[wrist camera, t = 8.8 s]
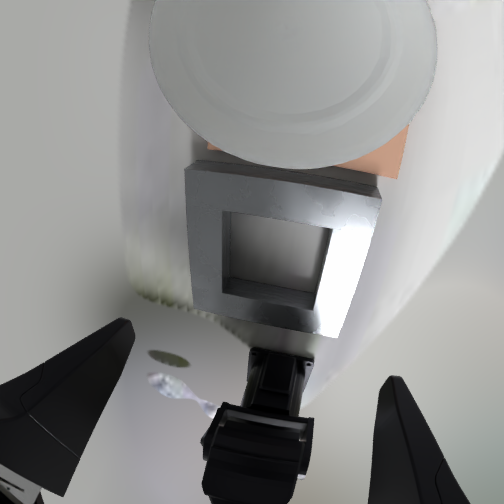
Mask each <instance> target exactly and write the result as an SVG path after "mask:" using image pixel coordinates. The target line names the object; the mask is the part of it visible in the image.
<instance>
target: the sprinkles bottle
mask: <svg viewBox="0 0 504 504" xmlns="http://www.w3.org/2000/svg"><path fill="white" fill-rule="evenodd" d="M149 51H150V58H151V64H152V67H153V70H154V73H155V76H156V78H157V81H158V84H159V86H160V88H161V90H162V92H163V94H164V96H165V98H166V99H167V101H168V102H169V104H170V105H171V106H172V108H173V109H174V110H175V112H176V113H177V114H178V116H179V117H180V118H181V119H182V120H183V121H184V122H185V123H186V124H187V125H188V126H189V127H190V128H191V129H192V130H193V131H195V132H196V133H197V134H198V135H199V136H201V137H202V138H203V139H205V140H207V141H208V142H209V143H211V144H212V145H214V146H216V147H218V148H220V149H221V150H223V151H224V152H227V153H229V154H232V155H234V156H237V157H239V158H241V159H244V160H247V161H250V162H253V163H256V164H261V165H266V166H272V167H278V168H287V169H314V168H322V167H328V166H333V165H337V164H342V163H345V162H348V161H351V160H354V159H357V158H360V157H362V156H364V155H366V154H368V153H370V152H372V151H374V150H376V149H377V148H379V147H381V146H383V145H384V144H386V143H387V142H388V141H390V140H391V139H392V138H393V137H395V136H396V135H397V134H398V133H399V132H400V131H402V130H403V129H404V128H405V127H406V126H407V125H408V124H409V123H410V122H411V121H412V120H413V118H414V116H415V115H416V113H417V112H418V111H419V109H420V108H421V106H422V105H423V103H424V101H425V100H426V97H427V95H428V93H429V91H430V88H431V85H432V82H433V79H434V75H435V71H436V63H437V34H436V27H435V23H434V19H433V17H432V14H431V10H430V7H429V5H428V3H427V1H426V0H156V1H155V4H154V7H153V10H152V15H151V19H150V27H149Z"/></svg>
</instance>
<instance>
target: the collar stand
mask: <svg viewBox="0 0 504 504" xmlns="http://www.w3.org/2000/svg"><path fill="white" fill-rule="evenodd" d="M185 194H186V214H187V231H188V246H189V259H190V271H191V283H192V294H193V304H194V309H198V310H202V311H206V312H210V313H215V314H219V315H223V316H228V317H232V318H237V319H241V320H246V321H251V322H255V323H260V324H265V325H270V326H275V327H280V328H285V329H291V330H296V331H302V332H307V333H313V334H319V335H325V336H331V337H337V336H338V334H339V331H340V329H341V326H342V324H343V321H344V318H345V316H346V313H347V310H348V308H349V305H350V302H351V299H352V296H353V294H354V291H355V288H356V285H357V282H358V279H359V276H360V273H361V270H362V267H363V264H364V261H365V258H366V254H367V251H368V248H369V245H370V241H371V238H372V235H373V231H374V228H375V224H376V221H377V217H378V213H379V209H380V206H381V202H382V198H381V195H380V193H379V190H378V188H377V187H374V186H369V185H364V184H359V183H355V182H349V181H344V180H339V179H334V178H328V177H323V176H317V175H311V174H305V173H299V172H292V171H286V170H279V169H272V168H264V167H257V166H249V165H240V164H232V163H222V162H212V161H202V160H196V161H195V162H194V163H192V164H191V165H190V166H188V167H187V168H186V169H185ZM231 212H237V213H243V214H250V215H256V216H262V217H268V218H274V219H280V220H286V221H292V222H298V223H304V224H309V225H315V226H321V227H326V228H330V231H329V236H328V241H327V245H326V249H325V254H324V258H323V262H322V267H321V271H320V275H319V279H318V283H317V287H316V291H315V293H310V292H305V291H299V290H294V289H288V288H283V287H278V286H272V285H267V284H262V283H257V282H252V281H247V280H242V279H237V278H232V277H230V224H231Z"/></svg>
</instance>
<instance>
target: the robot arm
mask: <svg viewBox="0 0 504 504" xmlns="http://www.w3.org/2000/svg"><path fill="white" fill-rule="evenodd" d="M134 341H135V332H134V329H133V326H132V323H131V321H130V320H128V319H125V318H122V317H121V318H118V319H116V320H114V321H112V322H111V323H109V324H108V325H106V326H104V327H102V328H101V329H99V330H97V331H96V332H94V333H92V334H91V335H89V336H87V337H85V338H84V339H82V340H80V341H79V342H77V343H75V344H74V345H72V346H70V347H69V348H67V349H66V350H64V351H62V352H60V353H59V354H57V355H55V356H54V357H52V358H50V359H49V360H47V361H45V363H42V364H40V365H39V366H37V367H35V368H34V369H32V370H30V371H28V372H26V373H25V374H22V375H20V376H18V377H16V378H14V379H12V380H10V381H8V382H6V383H4V384H1V385H0V504H44V502H43V499H42V495H41V492H40V490H41V488H44V489H46V490H48V491H50V492H52V493H54V494H57V495H59V496H61V497H64V495H65V492H66V490H67V488H68V485H69V483H70V481H71V479H72V476H73V474H74V472H75V469H76V467H77V465H78V463H79V461H80V458H81V455H82V454H83V451H84V449H85V447H86V445H87V442H88V441H89V438H90V436H91V434H92V432H93V430H94V428H95V426H96V424H97V422H98V420H99V418H100V416H101V414H102V411H103V410H104V407H105V406H106V404H107V402H108V399H109V398H110V396H111V394H112V392H113V390H114V388H115V386H116V384H117V382H118V380H119V378H120V376H121V374H122V371H123V369H124V366H125V364H126V361H127V359H128V356H129V354H130V351H131V349H132V346H133V344H134ZM313 366H314V360H313V359H310V358H304V357H298V356H293V355H288V354H282V353H277V352H272V351H267V350H262V349H258V348H251V349H250V352H249V361H248V373H247V382H248V383H247V386H246V389H245V392H244V396H243V399H242V402H241V405H240V406H236V405H231V404H229V403H227V402H223V403H222V405H221V407H220V408H218V409H217V412H216V415H215V417H214V419H213V421H212V423H211V425H210V427H209V428H208V430H207V431H206V433H205V434H204V436H203V437H202V438H201V442H200V443H201V444H202V446H203V460H205V461H207V464H206V468H205V472H204V476H203V480H202V488H203V491H204V494H205V495H208V496H209V498H210V501H211V503H212V504H287V503H288V502H289V501H290V499H291V498H292V496H293V492H294V489H295V484H296V481H297V479H300V480H303V479H304V477H305V475H306V472H307V469H308V466H309V461H310V456H311V448H312V439H313V428H314V418H311V417H309V418H304V417H298V416H299V411H300V405H301V399H302V393H303V391H304V389H305V386H306V384H307V382H308V379H309V376H310V374H311V371H312V369H313ZM299 439H300V441H299ZM372 453H373V454H372V467H371V478H370V489H369V498H368V504H470V502H469V501H468V499H467V497H466V496H465V494H464V492H463V491H462V489H461V488H460V486H459V484H458V482H457V481H456V479H455V477H454V475H453V473H452V472H451V469H450V467H449V465H448V463H447V461H446V459H445V458H444V456H443V453H442V451H441V449H440V447H439V445H438V443H437V441H436V439H435V437H434V435H433V434H432V432H431V430H430V428H429V426H428V424H427V422H426V420H425V419H424V416H423V415H422V413H421V411H420V409H419V407H418V406H417V403H416V402H415V400H414V398H413V396H412V394H411V393H410V391H409V389H408V387H407V385H406V384H405V382H404V380H403V379H402V377H400V376H393V375H392V376H389V377H388V379H387V380H386V381H385V383H384V384H383V386H382V387H381V389H380V391H379V397H378V405H377V412H376V420H375V426H374V435H373V452H372Z"/></svg>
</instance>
